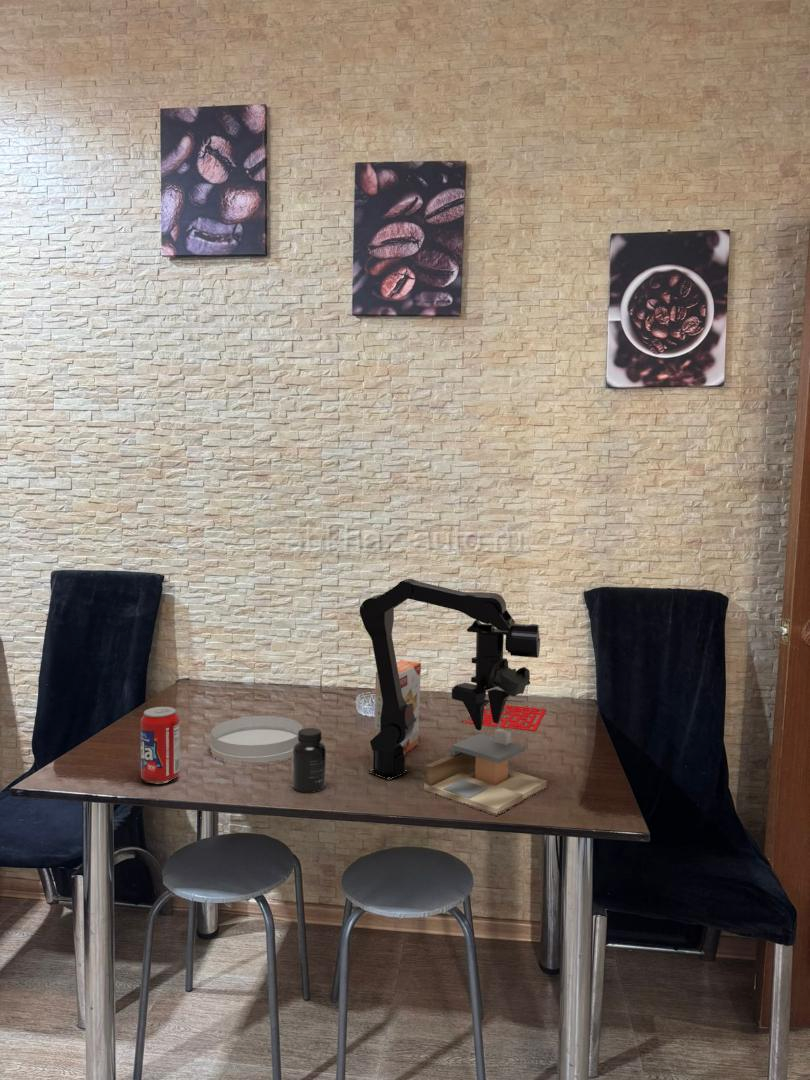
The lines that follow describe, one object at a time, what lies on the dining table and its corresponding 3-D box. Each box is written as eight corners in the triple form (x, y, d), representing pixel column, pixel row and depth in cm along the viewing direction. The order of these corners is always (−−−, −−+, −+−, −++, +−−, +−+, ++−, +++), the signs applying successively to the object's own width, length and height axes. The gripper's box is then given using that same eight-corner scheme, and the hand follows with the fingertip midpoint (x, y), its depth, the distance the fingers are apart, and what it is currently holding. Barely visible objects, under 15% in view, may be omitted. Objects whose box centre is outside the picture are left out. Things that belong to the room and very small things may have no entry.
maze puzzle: (461, 724, 204) (461, 721, 203) (477, 704, 222) (477, 701, 222) (535, 733, 197) (535, 730, 197) (546, 711, 216) (546, 709, 216)
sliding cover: (449, 754, 163) (450, 732, 163) (476, 742, 171) (477, 722, 170) (498, 769, 155) (499, 746, 155) (524, 756, 163) (525, 735, 162)
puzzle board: (424, 790, 158) (424, 765, 157) (477, 766, 172) (477, 742, 172) (496, 816, 146) (497, 788, 146) (546, 787, 160) (547, 762, 160)
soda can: (183, 782, 160) (183, 713, 159) (145, 789, 156) (144, 718, 155) (174, 770, 167) (174, 703, 166) (137, 776, 163) (137, 708, 162)
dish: (285, 771, 168) (285, 749, 168) (193, 762, 172) (193, 741, 172) (316, 738, 190) (316, 719, 189) (234, 731, 194) (234, 712, 194)
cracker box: (395, 764, 172) (397, 674, 171) (372, 760, 175) (373, 671, 173) (420, 745, 185) (422, 661, 184) (398, 741, 188) (399, 658, 186)
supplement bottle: (286, 786, 159) (286, 730, 158) (312, 778, 164) (312, 723, 163) (306, 796, 154) (306, 738, 153) (332, 787, 159) (332, 731, 158)
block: (475, 783, 162) (475, 756, 162) (488, 777, 166) (488, 750, 166) (494, 790, 159) (495, 762, 158) (507, 783, 163) (508, 756, 162)
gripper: (496, 668, 146) (494, 746, 148) (545, 652, 161) (543, 724, 162) (450, 658, 154) (449, 733, 155) (501, 644, 168) (499, 713, 169)
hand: (487, 726), depth 160 cm, fingers open, 6 cm apart
